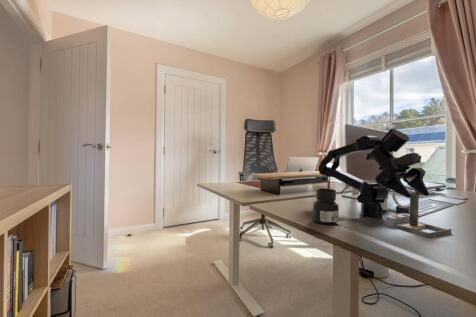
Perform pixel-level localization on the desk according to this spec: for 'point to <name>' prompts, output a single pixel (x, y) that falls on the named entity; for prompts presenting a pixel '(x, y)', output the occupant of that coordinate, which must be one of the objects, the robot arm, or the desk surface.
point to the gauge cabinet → (398, 219)
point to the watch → (401, 207)
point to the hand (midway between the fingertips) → (419, 196)
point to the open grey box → (438, 232)
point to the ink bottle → (325, 207)
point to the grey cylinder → (414, 213)
